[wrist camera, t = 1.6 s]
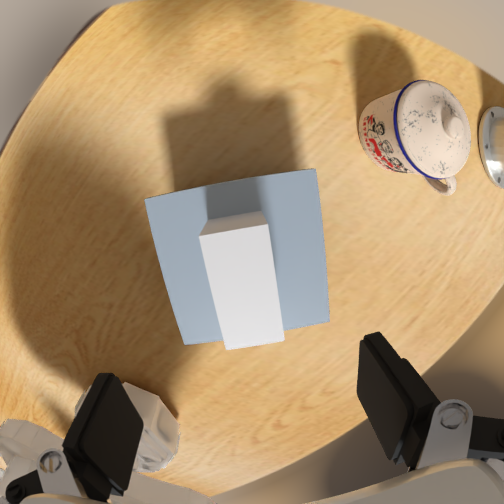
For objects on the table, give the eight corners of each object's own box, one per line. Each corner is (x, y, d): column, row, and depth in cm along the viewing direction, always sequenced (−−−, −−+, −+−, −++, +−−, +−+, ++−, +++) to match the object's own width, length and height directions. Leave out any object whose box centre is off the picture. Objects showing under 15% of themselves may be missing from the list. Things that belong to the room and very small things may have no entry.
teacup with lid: (339, 120, 27) (393, 100, 16) (393, 83, 25) (456, 58, 14) (396, 209, 30) (461, 234, 19) (442, 168, 29) (510, 177, 17)
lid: (311, 168, 21) (338, 170, 16) (325, 314, 25) (347, 354, 19) (148, 197, 22) (118, 209, 16) (186, 337, 25) (174, 381, 19)
